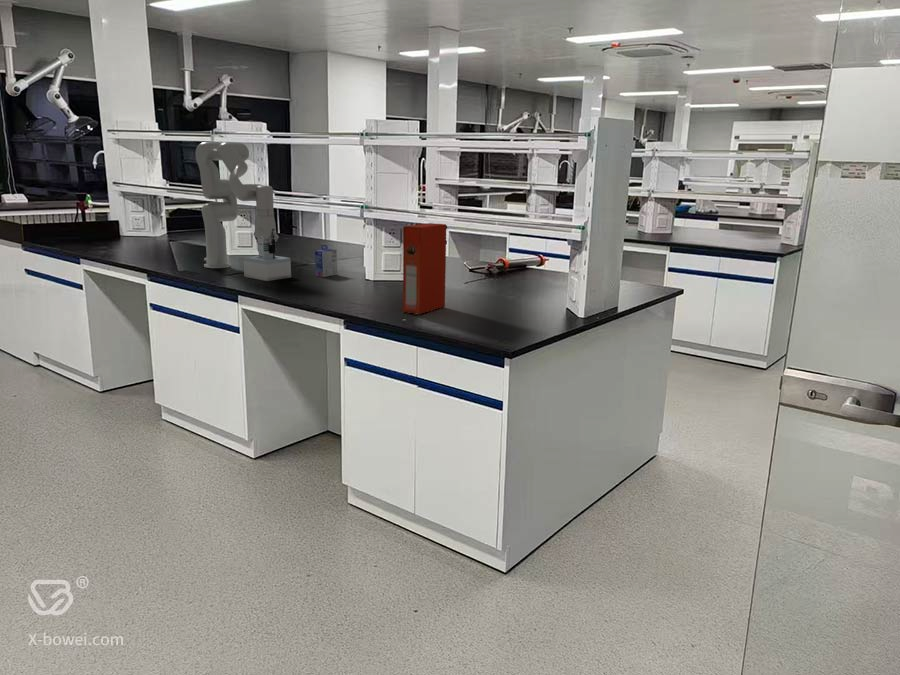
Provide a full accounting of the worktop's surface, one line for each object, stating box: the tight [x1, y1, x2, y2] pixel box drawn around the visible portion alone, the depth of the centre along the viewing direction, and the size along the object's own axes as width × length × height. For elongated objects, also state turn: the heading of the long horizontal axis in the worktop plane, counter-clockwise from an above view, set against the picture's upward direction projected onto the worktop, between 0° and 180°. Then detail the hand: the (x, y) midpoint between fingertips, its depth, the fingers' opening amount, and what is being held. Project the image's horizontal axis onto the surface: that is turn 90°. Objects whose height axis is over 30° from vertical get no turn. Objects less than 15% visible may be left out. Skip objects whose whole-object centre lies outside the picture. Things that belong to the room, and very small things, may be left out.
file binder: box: [402, 222, 447, 315], centre depth 255 cm, size 8×17×32 cm, turn 149°
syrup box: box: [257, 236, 276, 260], centre depth 314 cm, size 6×6×14 cm
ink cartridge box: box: [314, 244, 338, 278], centre depth 324 cm, size 10×6×14 cm, turn 145°
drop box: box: [242, 255, 292, 282], centre depth 316 cm, size 16×14×9 cm
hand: (266, 252), depth 314 cm, fingers closed on syrup box, 7 cm apart
